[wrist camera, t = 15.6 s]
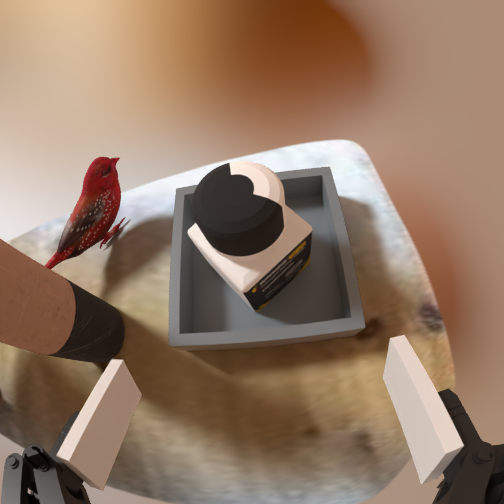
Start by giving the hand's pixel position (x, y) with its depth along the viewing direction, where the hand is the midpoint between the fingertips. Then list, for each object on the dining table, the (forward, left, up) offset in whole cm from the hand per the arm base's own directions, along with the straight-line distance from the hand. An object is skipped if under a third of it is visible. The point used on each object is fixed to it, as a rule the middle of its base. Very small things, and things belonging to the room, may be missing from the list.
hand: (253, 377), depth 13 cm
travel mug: (-19, +5, -13) cm, 24 cm away
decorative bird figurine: (-20, +16, -13) cm, 29 cm away
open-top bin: (0, +11, -13) cm, 17 cm away
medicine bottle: (-1, +11, -12) cm, 16 cm away
